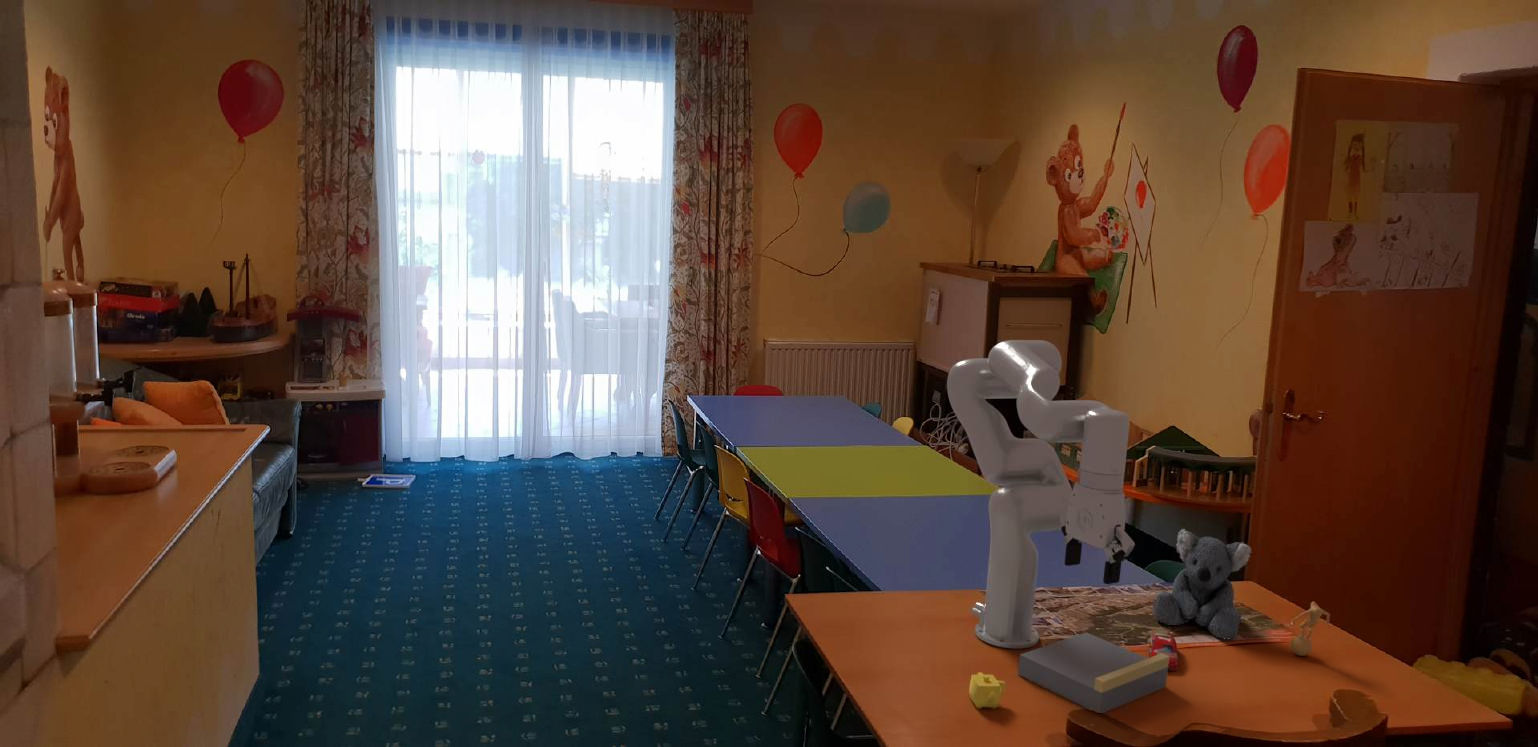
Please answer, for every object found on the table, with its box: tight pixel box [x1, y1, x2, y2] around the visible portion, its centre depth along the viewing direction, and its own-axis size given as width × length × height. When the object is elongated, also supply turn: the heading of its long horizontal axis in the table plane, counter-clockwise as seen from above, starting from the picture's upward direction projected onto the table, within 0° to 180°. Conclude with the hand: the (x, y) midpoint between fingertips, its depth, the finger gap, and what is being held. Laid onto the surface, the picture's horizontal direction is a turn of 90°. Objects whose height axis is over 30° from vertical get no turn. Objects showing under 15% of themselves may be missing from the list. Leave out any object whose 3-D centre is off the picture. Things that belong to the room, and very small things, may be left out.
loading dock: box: [1017, 631, 1169, 714], centre depth 201 cm, size 18×20×6 cm
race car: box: [1148, 633, 1180, 672], centre depth 213 cm, size 13×5×4 cm, turn 159°
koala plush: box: [1152, 528, 1253, 640], centre depth 232 cm, size 17×18×20 cm
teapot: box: [968, 672, 1006, 710], centre depth 189 cm, size 8×6×5 cm
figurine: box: [1289, 601, 1331, 657], centre depth 216 cm, size 8×6×12 cm
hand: (1091, 573), depth 192 cm, fingers open, 9 cm apart
